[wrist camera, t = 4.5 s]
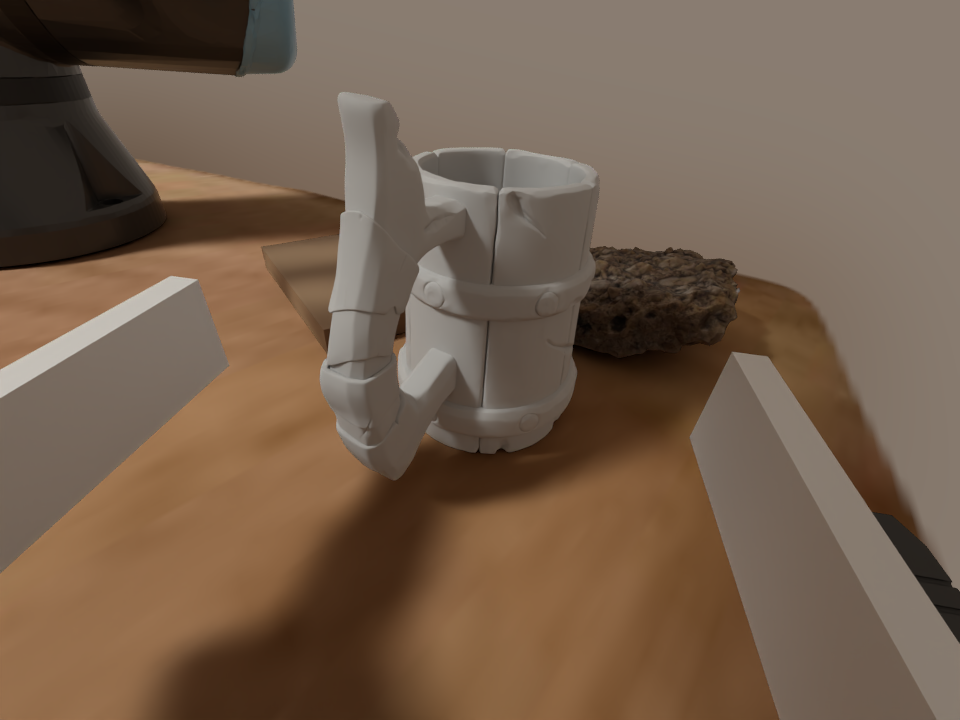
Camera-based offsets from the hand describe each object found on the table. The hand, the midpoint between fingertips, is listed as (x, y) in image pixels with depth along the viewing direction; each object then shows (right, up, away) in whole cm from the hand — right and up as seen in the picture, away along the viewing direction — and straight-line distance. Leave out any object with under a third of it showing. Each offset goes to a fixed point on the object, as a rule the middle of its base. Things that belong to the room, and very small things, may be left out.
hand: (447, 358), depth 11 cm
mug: (0, -3, +7) cm, 8 cm away
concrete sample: (+9, +2, +15) cm, 17 cm away
